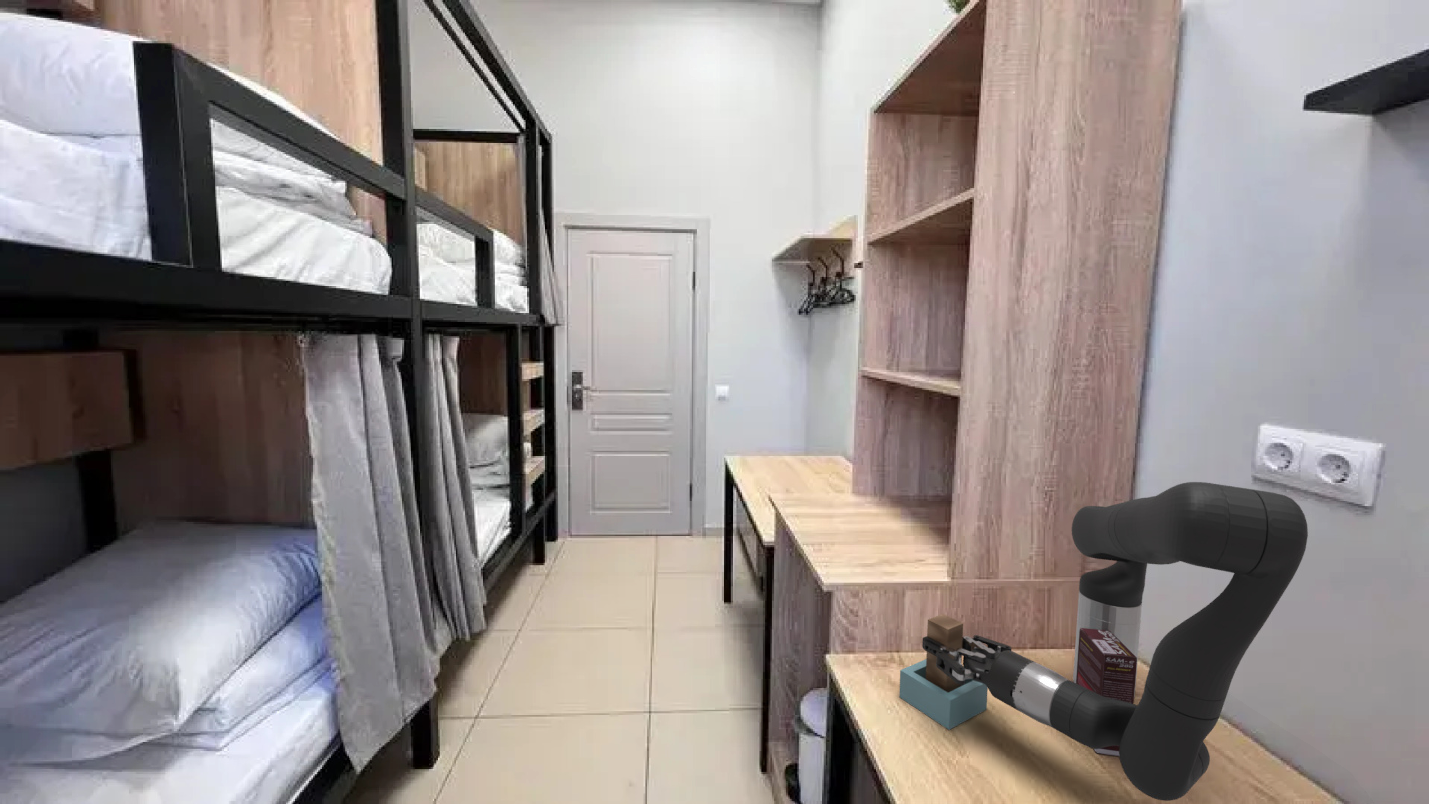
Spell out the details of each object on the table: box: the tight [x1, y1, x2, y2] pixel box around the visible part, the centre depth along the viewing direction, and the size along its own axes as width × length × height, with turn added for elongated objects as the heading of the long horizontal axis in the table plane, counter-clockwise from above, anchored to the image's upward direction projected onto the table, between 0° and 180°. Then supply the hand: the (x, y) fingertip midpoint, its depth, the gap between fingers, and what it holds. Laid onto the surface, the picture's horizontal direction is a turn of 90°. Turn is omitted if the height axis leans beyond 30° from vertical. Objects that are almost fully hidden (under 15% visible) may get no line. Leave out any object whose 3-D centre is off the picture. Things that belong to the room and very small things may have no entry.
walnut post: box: [925, 613, 964, 693], centre depth 96 cm, size 4×4×14 cm
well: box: [898, 658, 989, 731], centre depth 97 cm, size 10×10×5 cm
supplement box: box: [1076, 628, 1138, 757], centre depth 88 cm, size 9×5×16 cm, turn 168°
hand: (933, 638), depth 98 cm, fingers open, 4 cm apart
